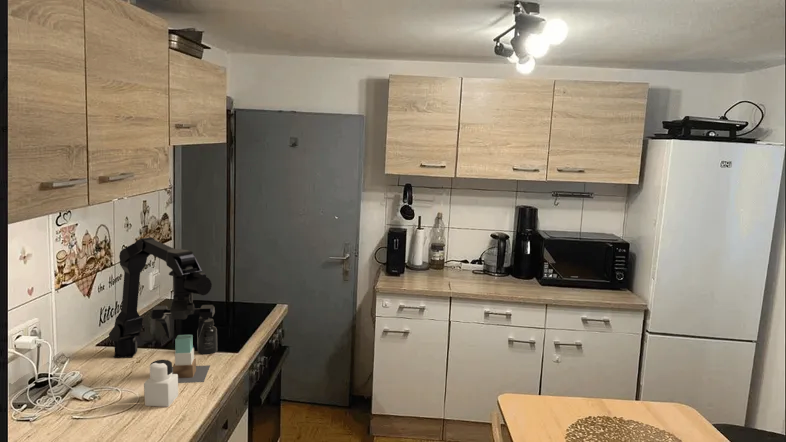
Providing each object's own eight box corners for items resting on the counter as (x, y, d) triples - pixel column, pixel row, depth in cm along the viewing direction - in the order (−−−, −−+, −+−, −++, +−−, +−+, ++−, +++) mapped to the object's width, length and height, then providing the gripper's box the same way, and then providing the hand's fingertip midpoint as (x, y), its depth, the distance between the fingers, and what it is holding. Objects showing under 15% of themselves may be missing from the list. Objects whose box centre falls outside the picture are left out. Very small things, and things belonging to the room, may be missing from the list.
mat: (157, 385, 181) (157, 383, 180) (167, 367, 194) (167, 366, 194) (203, 383, 183) (203, 381, 183) (210, 366, 197) (210, 365, 196)
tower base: (173, 378, 185) (173, 366, 185) (177, 370, 191) (176, 359, 190) (192, 377, 186) (192, 365, 186) (196, 370, 192) (195, 358, 191)
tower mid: (174, 365, 185) (174, 353, 185) (178, 359, 190) (177, 348, 189) (191, 364, 186) (191, 353, 185) (194, 359, 191) (193, 347, 190)
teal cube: (175, 353, 185) (175, 339, 184) (178, 348, 189) (178, 335, 189) (190, 352, 186) (189, 339, 185) (192, 347, 190) (192, 334, 189)
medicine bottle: (155, 395, 173) (154, 357, 172) (178, 396, 173) (177, 357, 171) (144, 406, 166) (142, 366, 164) (168, 407, 166) (167, 367, 164)
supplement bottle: (220, 349, 213) (219, 317, 211) (212, 356, 206) (212, 323, 204) (202, 348, 213) (201, 316, 212) (194, 355, 207) (193, 322, 205)
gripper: (145, 297, 176) (147, 347, 178) (209, 296, 179) (210, 345, 181) (154, 288, 186) (155, 335, 188) (214, 287, 189) (215, 333, 191)
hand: (184, 337), depth 187 cm, fingers open, 9 cm apart
